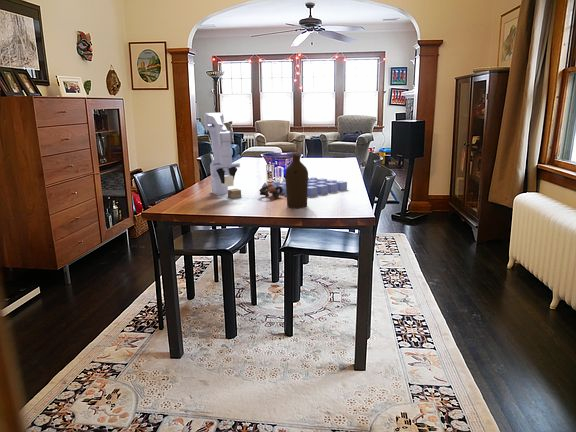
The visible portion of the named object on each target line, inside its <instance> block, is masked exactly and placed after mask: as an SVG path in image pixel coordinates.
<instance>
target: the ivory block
mask: <svg viewBox="0 0 576 432" xmlns="http://www.w3.org/2000/svg"><path fill="white" fill-rule="evenodd" d="M224 180H225V182H224V184H223V183H221V184H222V186H225V187H227V186H228V187H234V181H233V176H231V175H224Z"/></svg>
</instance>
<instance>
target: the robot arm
mask: <svg viewBox="0 0 576 432" xmlns="http://www.w3.org/2000/svg"><path fill="white" fill-rule="evenodd" d="M224 118H225V117H224V113H223V112H222V111H221V112H204V115H203V122H204V127H205V131H208V133H209V137H210V141H211V142H210V143H211V147H212V155H213V160H212V161H211V162H210V164H209V168H210V169H209V171H210V176H211V177H212V179H211V182H210V183H211V191H210V194H214V195H218V196H223V195H228V190H229V186H227V187H225V186H222V184H221V183H223V184H224V182H225V180H224V175H231V176H233V182H234V180H235V176H236V174H237V171H238V168H241V163H240V162H237V163H233V157H232V156H233V155H232V153H233V152H232V142H233V134H232V131H230V130H229V129H228V128H227V126H226V125H225V124H224V123H225V122H224V121H225V120H224Z"/></svg>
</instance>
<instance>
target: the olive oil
mask: <svg viewBox="0 0 576 432" xmlns="http://www.w3.org/2000/svg"><path fill="white" fill-rule="evenodd" d="M284 174H285V175H284V179H285V180H286V193H287V196H286V206H287V208H290V209H303V208H307V207H308V196H307V190H308V178H309V171H308V168H307V167H306V166H305V164H303V163H302V161H301V155H300V152H292V161H291V163H289V165H288V166H287V167H286V169H285V173H284Z"/></svg>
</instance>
